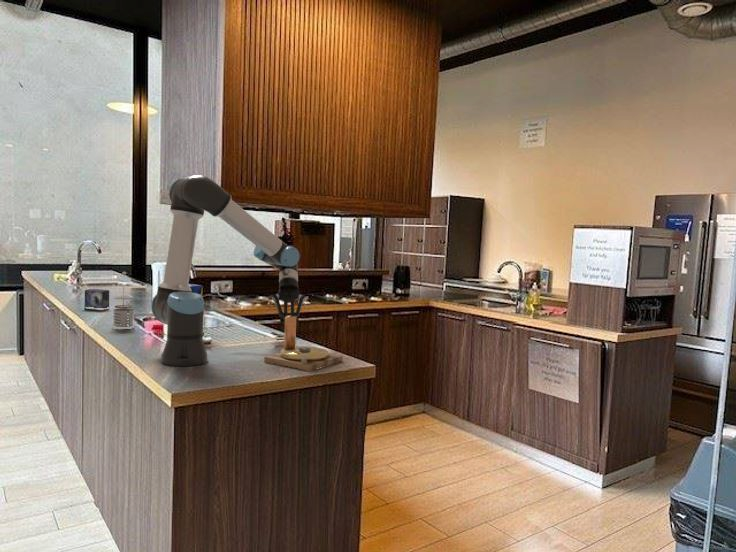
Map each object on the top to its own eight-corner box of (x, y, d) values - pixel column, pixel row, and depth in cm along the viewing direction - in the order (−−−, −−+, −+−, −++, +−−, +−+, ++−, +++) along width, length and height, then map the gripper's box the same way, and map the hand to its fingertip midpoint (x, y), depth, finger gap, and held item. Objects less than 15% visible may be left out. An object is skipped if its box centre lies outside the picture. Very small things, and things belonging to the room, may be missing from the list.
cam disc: (309, 363, 186) (311, 323, 185) (270, 355, 195) (272, 317, 194) (336, 355, 201) (338, 318, 200) (299, 348, 210) (300, 313, 208)
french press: (127, 325, 250) (128, 270, 248) (141, 328, 244) (143, 272, 242) (106, 327, 242) (107, 271, 240) (120, 331, 236) (121, 273, 234)
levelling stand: (310, 371, 185) (311, 356, 184) (264, 362, 194) (264, 348, 194) (342, 361, 202) (342, 347, 202) (298, 352, 212) (298, 340, 211)
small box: (83, 309, 288) (83, 289, 287) (91, 308, 294) (92, 288, 293) (101, 311, 286) (102, 291, 285) (109, 309, 292) (110, 289, 292)
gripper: (272, 276, 217) (271, 325, 202) (305, 277, 219) (307, 325, 204) (271, 288, 222) (271, 336, 207) (304, 288, 225) (305, 337, 210)
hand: (289, 331), depth 206 cm, fingers closed
